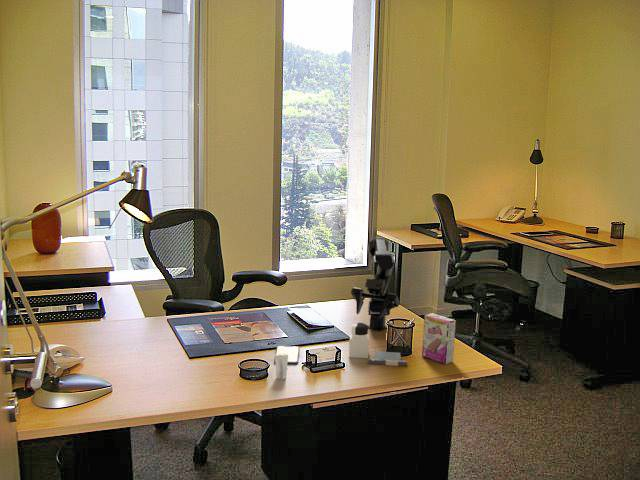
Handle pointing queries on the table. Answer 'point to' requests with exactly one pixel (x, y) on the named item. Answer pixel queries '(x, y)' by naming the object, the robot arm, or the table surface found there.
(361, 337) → the medicine bottle
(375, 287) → the robot arm
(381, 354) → the slate mat
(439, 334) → the candy bar box
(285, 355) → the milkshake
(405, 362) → the marker pen
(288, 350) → the phone case
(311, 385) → the table surface
